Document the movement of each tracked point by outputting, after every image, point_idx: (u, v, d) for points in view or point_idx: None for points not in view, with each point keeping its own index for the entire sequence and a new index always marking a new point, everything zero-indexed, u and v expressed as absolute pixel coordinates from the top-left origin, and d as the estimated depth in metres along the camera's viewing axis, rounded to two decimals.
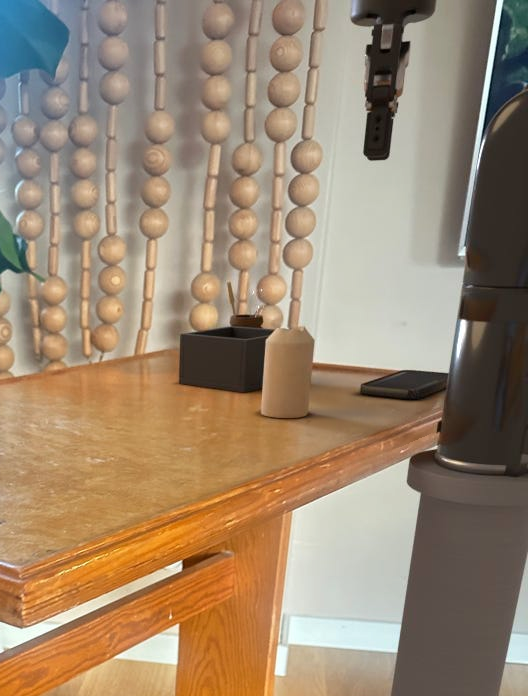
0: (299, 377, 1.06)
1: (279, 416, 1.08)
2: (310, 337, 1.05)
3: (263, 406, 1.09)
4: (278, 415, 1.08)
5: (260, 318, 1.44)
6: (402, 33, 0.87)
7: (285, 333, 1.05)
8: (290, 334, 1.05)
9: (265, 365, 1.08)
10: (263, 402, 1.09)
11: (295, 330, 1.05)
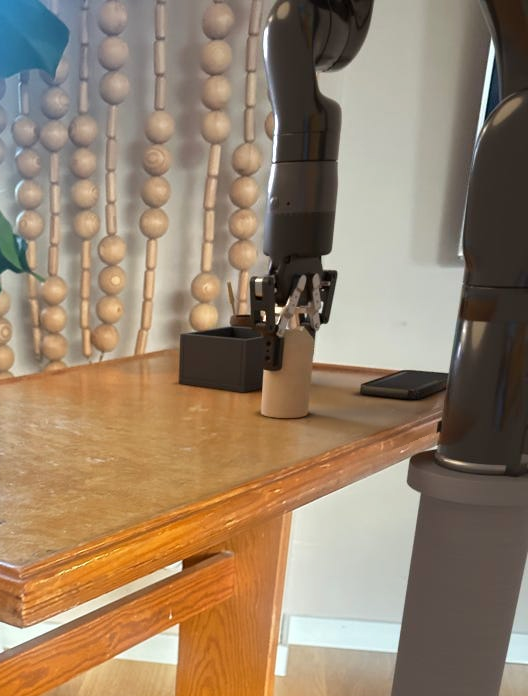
0: (299, 377, 1.06)
1: (279, 416, 1.08)
2: (310, 337, 1.05)
3: (263, 406, 1.09)
4: (278, 415, 1.08)
5: None
6: (309, 264, 1.03)
7: (285, 333, 1.05)
8: (290, 334, 1.05)
9: None
10: (263, 402, 1.09)
11: (295, 330, 1.05)
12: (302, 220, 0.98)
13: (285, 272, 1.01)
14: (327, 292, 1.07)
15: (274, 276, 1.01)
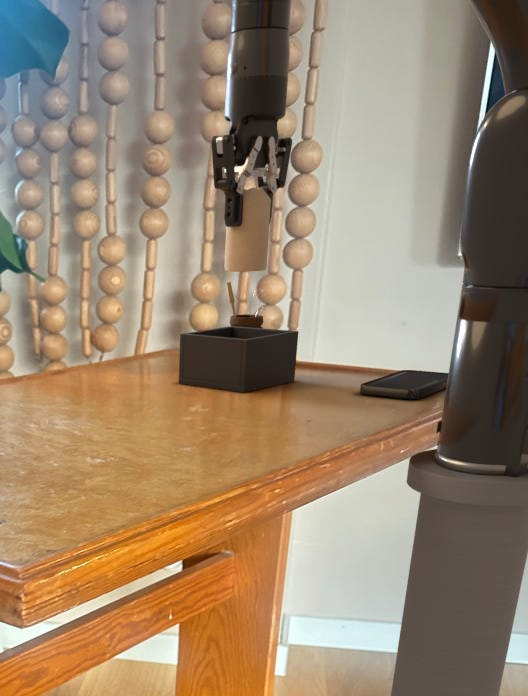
0: (257, 232, 1.19)
1: (240, 270, 1.21)
2: (266, 196, 1.18)
3: (226, 262, 1.22)
4: (239, 269, 1.21)
5: (260, 318, 1.44)
6: (265, 128, 1.16)
7: (244, 192, 1.18)
8: (248, 192, 1.17)
9: None
10: (226, 259, 1.22)
11: (253, 189, 1.17)
12: (257, 83, 1.11)
13: (243, 132, 1.13)
14: (283, 157, 1.20)
15: (233, 136, 1.13)
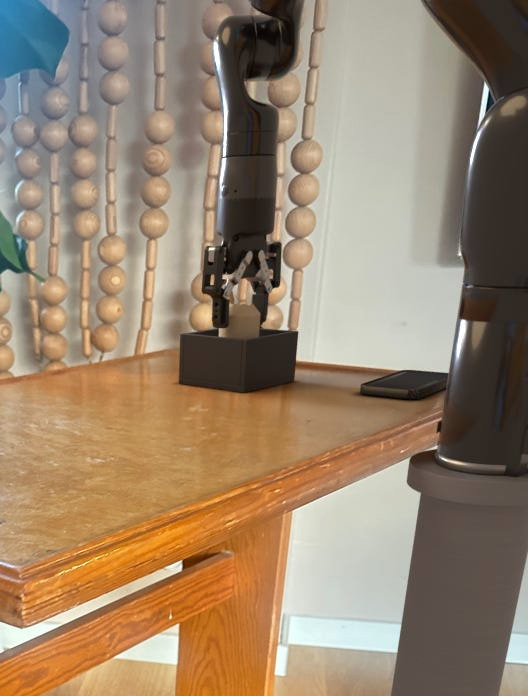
0: None
1: None
2: (256, 311, 1.26)
3: None
4: None
5: None
6: (255, 242, 1.23)
7: (235, 307, 1.25)
8: (239, 308, 1.25)
9: (219, 335, 1.28)
10: None
11: (243, 305, 1.25)
12: (247, 204, 1.18)
13: (234, 248, 1.21)
14: (275, 262, 1.27)
15: (225, 249, 1.21)
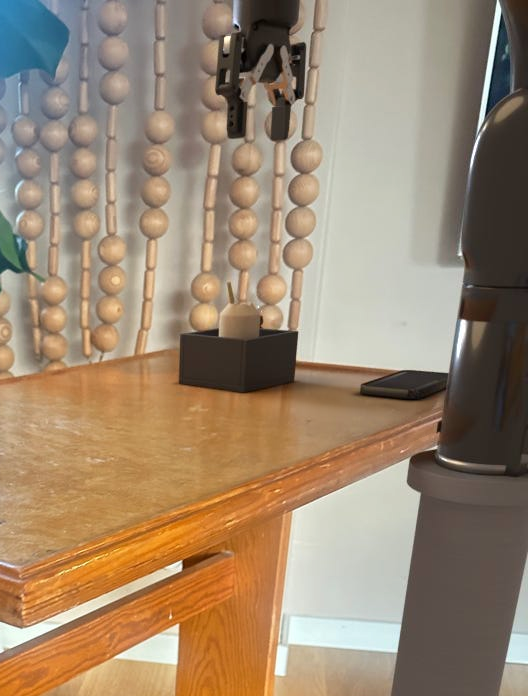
0: None
1: None
2: (256, 311, 1.26)
3: None
4: None
5: (260, 318, 1.44)
6: (277, 36, 1.07)
7: (235, 307, 1.25)
8: (239, 308, 1.25)
9: (219, 335, 1.28)
10: None
11: (243, 305, 1.25)
12: None
13: (253, 38, 1.05)
14: (298, 66, 1.11)
15: (243, 39, 1.05)
